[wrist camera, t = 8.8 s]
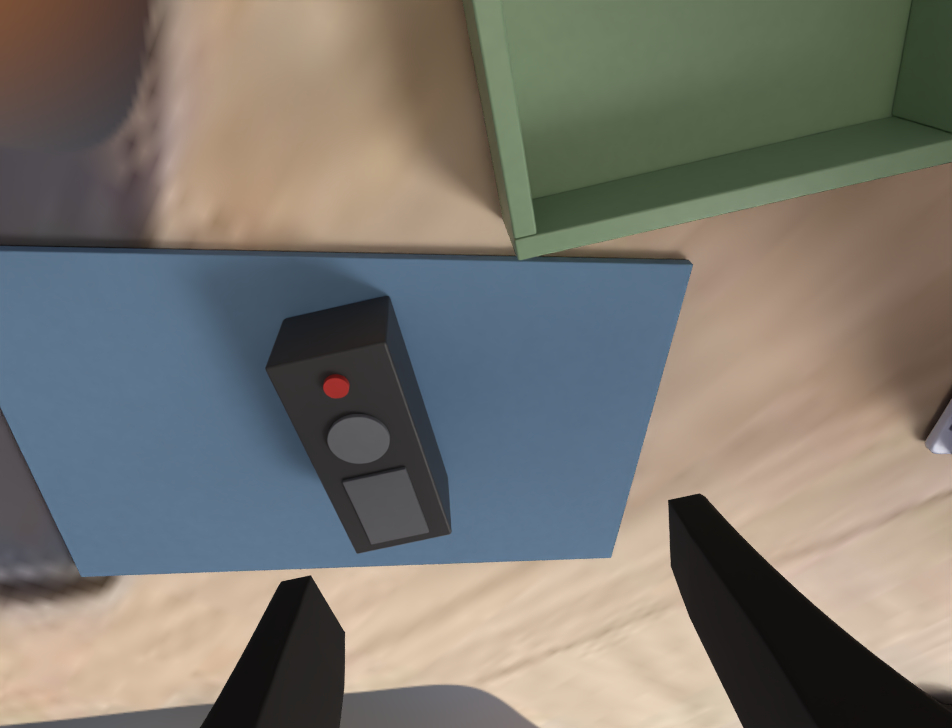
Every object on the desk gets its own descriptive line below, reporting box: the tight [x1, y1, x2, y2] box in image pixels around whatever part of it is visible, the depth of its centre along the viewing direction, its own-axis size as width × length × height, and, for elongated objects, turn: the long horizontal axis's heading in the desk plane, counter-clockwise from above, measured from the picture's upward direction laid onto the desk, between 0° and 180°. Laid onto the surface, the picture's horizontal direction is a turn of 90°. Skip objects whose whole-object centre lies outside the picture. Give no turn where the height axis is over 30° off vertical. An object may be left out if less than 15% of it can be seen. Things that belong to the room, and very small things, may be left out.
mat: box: [0, 246, 693, 577], centre depth 21 cm, size 14×22×1 cm, turn 87°
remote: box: [265, 296, 452, 554], centre depth 19 cm, size 8×3×3 cm, turn 12°
